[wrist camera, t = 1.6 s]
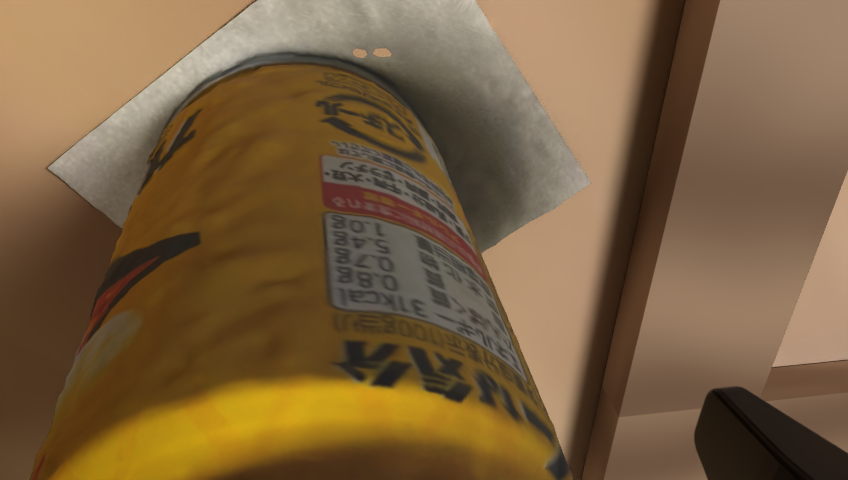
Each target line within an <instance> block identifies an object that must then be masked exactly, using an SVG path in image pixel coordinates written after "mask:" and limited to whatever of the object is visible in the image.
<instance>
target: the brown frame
mask: <svg viewBox="0 0 848 480" xmlns="http://www.w3.org/2000/svg"><path fill="white" fill-rule="evenodd" d="M847 171H848V0H686V2H685V6H684V11H683V15H682V20H681V25H680V29H679V34H678V38H677V43H676V48H675V52H674V57H673V61H672V66H671V71H670V75H669V80H668V84H667V89H666V93H665V98H664V103H663V107H662V112H661V116H660V121H659V126H658V130H657V135H656V139H655V144H654V149H653V153H652V158H651V162H650V167H649V172H648V176H647V181H646V185H645V190H644V195H643V199H642V204H641V208H640V213H639V218H638V222H637V227H636V231H635V236H634V241H633V245H632V250H631V254H630V259H629V264H628V268H627V273H626V277H625V282H624V286H623V291H622V296H621V300H620V305H619V309H618V314H617V319H616V323H615V328H614V332H613V337H612V342H611V346H610V351H609V355H608V360H607V365H606V369H605V374H604V378H603V383H602V388H601V392H600V397H599V401H598V406H597V411H596V415H595V420H594V424H593V429H592V434H591V438H590V443H589V447H588V452H587V457H586V461H585V466H584V470H583V475H582V479H581V480H707V477H706V474H705V472H704V469H703V467H702V464H701V462H700V459H699V456H698V454H697V451H696V448H695V444H694V431H695V427H696V424H697V421H698V418H699V415H700V412H701V409H702V405H703V402H704V399H705V396H706V394H707V393H708V392H709V391H710V390H711V389H714V388H721V387H730V386H739V387H743V388H745V389H747V390H749V391H750V392H752V393H753V394H755V395H756V396H758V397H760V398H761V399H763V400H764V401H766V402H768V403H769V404H771V405H772V406H774V407H776V408H777V409H779V410H780V411H782V412H784V413H785V414H787V415H788V416H790V417H792V418H793V419H795V420H796V421H798V422H800V423H801V424H803V425H804V426H806V427H808V428H809V429H811V430H812V431H814V432H816V433H817V434H819V435H820V436H822V437H824V438H825V439H827V440H828V441H830V442H831V443H833V444H835V445H836V446H838V447H839V448H841V449H843V450H844V451H846V452H847V453H848V360H846V361H837V362H827V363H817V364H807V365H797V366H787V367H777V368H772V365H773V363H774V360H775V358H776V355H777V352H778V350H779V347H780V345H781V342H782V339H783V337H784V334H785V332H786V329H787V326H788V324H789V321H790V319H791V316H792V313H793V311H794V308H795V306H796V303H797V300H798V298H799V295H800V293H801V290H802V287H803V285H804V282H805V280H806V277H807V274H808V272H809V269H810V267H811V264H812V261H813V259H814V256H815V254H816V251H817V248H818V246H819V243H820V241H821V238H822V236H823V233H824V230H825V228H826V225H827V223H828V220H829V217H830V215H831V212H832V210H833V207H834V204H835V202H836V199H837V197H838V194H839V191H840V189H841V186H842V184H843V181H844V178H845V176H846V173H847Z"/></svg>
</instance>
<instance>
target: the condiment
mask: <svg viewBox="0 0 848 480" xmlns="http://www.w3.org/2000/svg"><path fill="white" fill-rule="evenodd" d="M356 48H358V49H362V50H365V51H366V52H367V54H368V55H367V56H366V57H365V58H358V57H355V56H354V55H353V50H355V49H356ZM377 48H387V49H388V50H389V51H390V52H391V53H392V55H391V57H377V56H375V55H373V51H374V50H375V49H377ZM48 169H49V170H50V171H51V172H53V173H54V174H55V175H57V176H58V177H59V178H61V179H62V180H63V181H65V182H66V183H67V184H68V185H69V186H70V187H71V188H72V189H74V190H75V191H76V192H78V193H79V194H80V195H81V196H82V197H83V198H85V199H86V200H87V201H88V202H89V203H90V204H91V205H93V206H94V207H95V208H97V209H98V210H100V211H101V212H103V213H104V214H105V215H106V216H107V217H108V218H109V219H111V220H112V221H113V222H114V223H115V224H116V225H118V226H119V227H120V228H122V229H123V231H122V233H121V236H120V237H119V239H118V240H117V242H116V249H115V251H114V253H113V255H112V258H111V261H110V265H109V269H108V271H107V273H106V276H105V280H104V282H103V284H102V285H101V287H100V288H99V290H98V292H97V295H96V298H95V301H94V305H93V309H92V313H91V318H90V323H89V327H88V329H87V331H86V332H85V334H84V336H83V339H82V342H81V344H80V345H79V347H78V349H77V352H76V355H75V359H74V364H73V366H72V369H71V370H70V372H69V374H68V375H67V377H66V381H65V386H64V389H63V391H62V392H61V393H60V395H59V396H58V400H57V403H56V406H55V413H54V420H53V423H52V426H51V429H50V431H49V433H48V436H47V439H46V441H45V442H44V444H43V445H42V447H41V449H40V450H39V452H38V453H37V455H36V459H35V463H34V468H33V472H32V475H31V478H30V480H574V478H573V476H572V472H571V468H570V467H569V465H568V464H567V462H566V460H565V457H564V455H563V452H562V449H561V447H560V444H559V441H558V438H557V435H556V432H555V429H554V425H553V423H552V422H551V420H550V418H549V416H548V413H547V410H546V408H545V406H544V404H543V402H542V399H541V397H540V395H539V392H538V389H537V387H536V385H535V382H534V380H533V377H532V375H531V373H530V370H529V368H528V365H527V363H526V361H525V358H524V356H523V354H522V352H521V349H520V345H519V343H518V340H517V338H516V336H515V334H514V332H513V329H512V327H511V324H510V322H509V320H508V317H507V315H506V312H505V310H504V308H503V306H502V304H501V301H500V299H499V297H498V294H497V291H496V289H495V286H494V284H493V282H492V279H491V277H490V275H489V272H488V269H487V266H486V264H485V262H484V260H483V258H482V255H481V253H482V252H484V251H485V250H487V249H489V248H490V247H492V246H494V245H496V244H497V243H498V242H500V241H501V240H502V239H503V238H505V237H506V236H508V235H509V234H511V233H513V232H514V231H516V230H517V229H519V228H520V227H522V226H523V225H525V224H526V223H528V222H530V221H532V220H534V219H536V218H538V217H540V216H541V215H543V214H545V213H547V212H549V211H551V210H553V209H555V208H556V207H557V206H559V205H560V204H561V203H563V202H564V201H565V200H567V199H568V198H570V197H571V196H573V195H574V194H576V193H577V192H579V191H580V190H582V189H584V188H585V187H587V186H588V185H589V184H591V181H590V180H589V178H588V177H587V175H586V173H585V172H584V170H583V169H582V167H581V165H580V164H579V162H578V161H577V159H576V158H575V157H574V155H573V154H572V152H571V150H570V149H569V147H568V146H567V144H566V142H565V141H564V139H563V138H562V136H561V135H560V133H559V131H558V130H557V128H556V127H555V125H554V124H553V122H552V120H551V119H550V117H549V116H548V114H547V113H546V111H545V109H544V108H543V107H542V105H541V104H540V102H539V100H538V98H537V97H536V95H535V93H534V92H533V90H532V89H531V88H530V86H529V84H528V83H527V81H526V80H525V78H524V77H523V76H522V74H521V72H520V70H519V69H518V67H517V66H516V64H515V62H514V61H513V59H512V58H511V56H510V55H509V53H508V51H507V50H506V48H505V47H504V45H503V44H502V42H501V40H500V39H499V37H498V36H497V34H496V33H495V31H494V30H493V29H491V27H490V25H489V21H488V20H487V18H486V17H485V15H484V14H483V12H482V10H481V9H480V7H479V6H478V4H477V2H476V1H475V0H257V1H256V2H254V3H253V4H252V5H250V6H249V7H248V8H246V9H245V10H244V11H243V12H242V13H240V14H239V15H238V16H237V17H235V18H234V19H233V20H231V21H230V22H229V23H228V24H226V25H225V26H224V27H222V28H221V29H220V30H218V31H217V32H216V33H214V34H213V35H212V36H211V37H209V38H208V39H207V40H206V41H204V42H203V43H202V44H200V45H199V46H198V47H197V48H195V49H194V50H193V51H192V52H190V53H189V54H188V55H186V56H185V57H184V58H183V59H182V60H180V61H179V62H178V63H177V64H175V65H174V66H173V67H172V68H170V69H169V70H168V71H167V72H166V73H164V74H163V75H162V76H161V77H159V78H158V79H157V80H155V81H154V82H153V83H152V84H150V85H149V86H148V87H147V88H145V89H144V90H143V91H142V92H140V93H139V94H138V95H137V96H135V97H134V98H133V99H131V100H130V101H129V102H128V103H126V104H125V105H124V106H123V107H121V108H120V109H119V110H118V111H116V112H115V113H114V114H113V115H111V116H110V117H109V118H108V119H107V120H106V121H104V122H103V123H102V124H101V125H99V126H98V127H97V128H95V129H94V130H93V131H91V132H90V133H89V134H88V135H86V136H85V137H84V138H83V139H81V140H80V141H79V142H78V143H76V144H75V145H74V146H73V147H72V148H70V149H69V150H68V151H67V152H66V153H64V154H63V155H62V156H61V157H60V158H58V159H57V160H56V161H55V162H54V163H53V164H52V165H51V166H49V167H48Z"/></svg>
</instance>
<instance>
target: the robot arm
mask: <svg viewBox="0 0 848 480" xmlns="http://www.w3.org/2000/svg"><path fill="white" fill-rule="evenodd" d="M694 444H695V448H696V451H697V454H698V456H699V459H700V462H701V464H702V467H703V469H704V472H705V474H706V477H707V480H848V453H847V452H846V451H844V450H843V449H841V448H839V447H838V446H836V445H835V444H833V443H831V442H830V441H828V440H827V439H825V438H824V437H822V436H820V435H819V434H817V433H816V432H814V431H812V430H811V429H809V428H808V427H806V426H804V425H803V424H801V423H800V422H798V421H796V420H795V419H793V418H792V417H790V416H788V415H787V414H785V413H784V412H782V411H780V410H779V409H777V408H776V407H774V406H772V405H771V404H769V403H768V402H766V401H764V400H763V399H761V398H760V397H758V396H756V395H755V394H753V393H752V392H750V391H749V390H747V389H745V388H743V387H739V386H730V387H721V388H714V389H711V390H710V391H709V392H708V393H707V394H706V396H705V399H704V402H703V405H702V409H701V412H700V415H699V418H698V421H697V424H696V427H695V431H694Z"/></svg>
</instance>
